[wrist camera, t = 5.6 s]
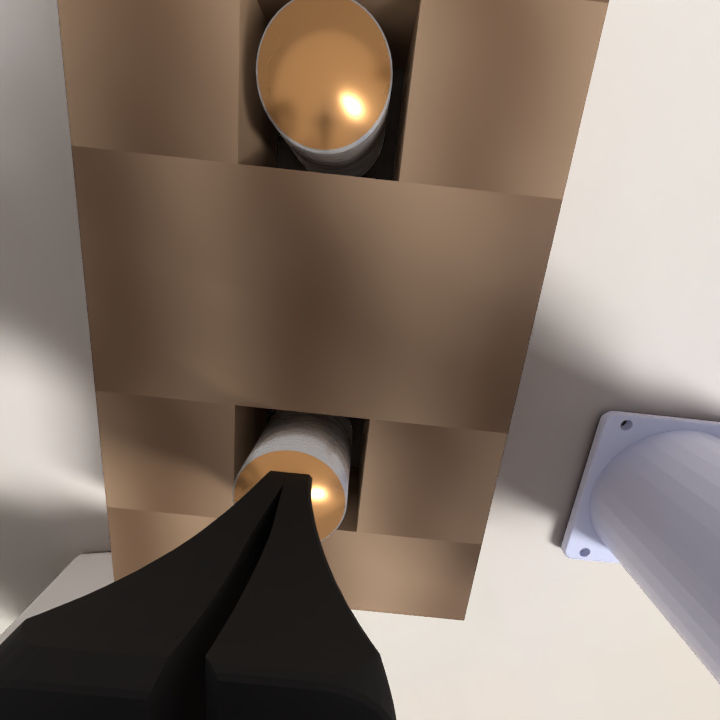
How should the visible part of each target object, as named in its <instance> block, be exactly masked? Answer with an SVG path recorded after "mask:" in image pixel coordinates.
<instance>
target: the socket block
mask: <svg viewBox="0 0 720 720" xmlns="http://www.w3.org/2000/svg"><path fill="white" fill-rule="evenodd" d="M290 1H291V0H57V3H58V14H59V24H60V34H61V44H62V54H63V65H64V75H65V85H66V95H67V106H68V116H69V126H70V136H71V146H72V157H73V167H74V177H75V187H76V198H77V208H78V218H79V228H80V238H81V249H82V259H83V269H84V279H85V290H86V300H87V310H88V320H89V331H90V341H91V351H92V361H93V371H94V382H95V392H96V402H97V412H98V423H99V433H100V443H101V453H102V463H103V474H104V484H105V494H106V504H107V515H108V525H109V535H110V545H111V555H112V566H113V576H114V582H115V581H117V580H119V579H121V578H123V577H125V576H127V575H129V574H131V573H133V572H135V571H137V570H139V569H141V568H142V567H144V566H146V565H148V564H149V563H151V562H153V561H155V560H156V559H158V558H160V557H162V556H163V555H165V554H167V553H169V552H170V551H172V550H174V549H175V548H177V547H178V546H180V545H181V544H183V543H184V542H186V541H187V540H189V539H190V538H192V537H193V536H195V535H196V534H198V533H199V532H200V531H202V530H203V529H204V528H206V527H207V526H208V525H209V524H211V523H212V522H213V521H215V520H216V519H217V518H218V517H220V516H221V515H222V514H223V513H225V512H226V511H227V510H228V509H229V508H230V507H232V506H233V498H232V492H233V485H234V481H235V479H236V477H237V475H238V473H239V471H240V470H241V468H242V466H243V465H244V463H245V461H246V460H247V458H248V456H249V455H250V453H251V451H252V450H253V448H254V446H255V444H256V443H257V441H258V439H259V438H260V436H261V434H262V433H263V431H264V429H265V428H266V426H267V409H277V410H286V411H296V412H306V413H315V414H325V415H335V416H344V417H354V418H364V419H365V420H364V429H363V438H362V446H361V455H360V463H359V466H355V465H350V472H349V484H348V496H347V507H346V512H345V515H344V518H343V520H342V522H341V524H340V525H339V527H338V528H337V529H336V530H335V531H334V532H333V533H332V534H331V535H330V536H329V537H327V538H326V539H324V540H322V541H321V545H322V548H323V551H324V554H325V556H326V559H327V562H328V564H329V567H330V569H331V571H332V574H333V576H334V578H335V581H336V583H337V585H338V587H339V588H340V590H341V592H342V594H343V596H344V598H345V600H346V602H347V604H348V606H349V608H350V609H354V610H364V611H374V612H384V613H394V614H404V615H414V616H424V617H435V618H445V619H455V620H464V618H465V614H466V609H467V605H468V601H469V597H470V592H471V588H472V584H473V580H474V575H475V571H476V567H477V562H478V558H479V554H480V550H481V545H482V541H483V537H484V533H485V528H486V524H487V520H488V515H489V511H490V507H491V503H492V498H493V494H494V490H495V486H496V481H497V477H498V473H499V468H500V464H501V460H502V456H503V451H504V447H505V443H506V439H507V434H508V430H509V426H510V422H511V417H512V413H513V409H514V404H515V400H516V396H517V392H518V387H519V383H520V379H521V375H522V370H523V366H524V362H525V357H526V353H527V349H528V345H529V340H530V336H531V332H532V328H533V323H534V319H535V315H536V310H537V306H538V302H539V298H540V293H541V289H542V285H543V281H544V276H545V272H546V268H547V263H548V259H549V255H550V251H551V246H552V242H553V238H554V234H555V229H556V225H557V221H558V217H559V212H560V208H561V204H562V199H563V195H564V191H565V187H566V182H567V178H568V174H569V170H570V165H571V161H572V157H573V152H574V148H575V144H576V140H577V135H578V131H579V127H580V123H581V118H582V114H583V110H584V105H585V101H586V97H587V93H588V88H589V84H590V80H591V76H592V71H593V67H594V63H595V59H596V54H597V50H598V46H599V41H600V37H601V33H602V29H603V24H604V20H605V16H606V12H607V7H608V3H609V0H355V1H357V2H358V3H359V4H361V5H362V6H363V7H364V8H365V9H366V10H367V11H368V12H369V13H370V14H371V15H372V16H373V17H374V18H375V20H376V21H377V22H378V24H379V26H380V27H381V29H382V31H383V33H384V35H385V38H386V40H387V43H388V46H389V49H390V53H391V59H392V68H398V69H405V77H404V85H403V94H402V103H401V111H400V120H399V128H398V137H397V146H396V154H395V163H394V171H393V180H392V181H390V180H381V179H372V178H363V177H354V176H345V175H335V174H326V173H317V172H308V171H299V170H290V169H281V168H277V143H278V130H277V129H276V127H275V126H274V124H273V123H272V121H271V120H270V118H269V117H268V115H267V113H266V111H265V109H264V107H263V105H262V102H261V99H260V96H259V92H258V88H257V81H256V60H257V53H258V48H259V45H260V41H261V38H262V36H263V34H264V31H265V29H266V27H267V26H268V24H269V23H270V21H271V19H272V18H273V17H274V16H275V14H276V13H277V12H278V11H279V10H280V9H281V8H282V7H283V6H284V5H286V4H287V3H289V2H290Z"/></svg>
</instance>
